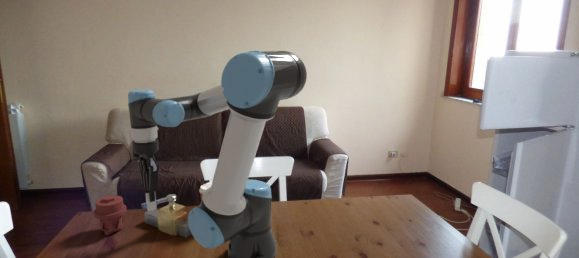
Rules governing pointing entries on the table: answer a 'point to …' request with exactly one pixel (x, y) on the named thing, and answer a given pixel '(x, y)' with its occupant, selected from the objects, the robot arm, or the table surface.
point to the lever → (161, 200)
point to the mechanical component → (110, 213)
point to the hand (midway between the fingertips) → (151, 209)
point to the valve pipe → (170, 219)
